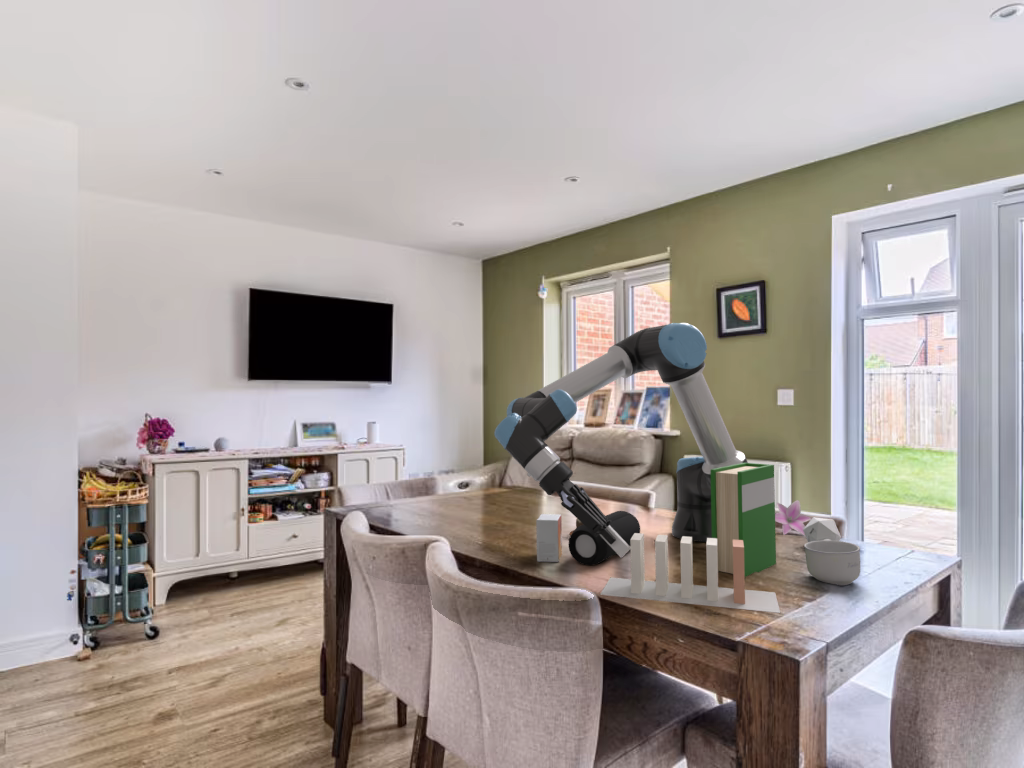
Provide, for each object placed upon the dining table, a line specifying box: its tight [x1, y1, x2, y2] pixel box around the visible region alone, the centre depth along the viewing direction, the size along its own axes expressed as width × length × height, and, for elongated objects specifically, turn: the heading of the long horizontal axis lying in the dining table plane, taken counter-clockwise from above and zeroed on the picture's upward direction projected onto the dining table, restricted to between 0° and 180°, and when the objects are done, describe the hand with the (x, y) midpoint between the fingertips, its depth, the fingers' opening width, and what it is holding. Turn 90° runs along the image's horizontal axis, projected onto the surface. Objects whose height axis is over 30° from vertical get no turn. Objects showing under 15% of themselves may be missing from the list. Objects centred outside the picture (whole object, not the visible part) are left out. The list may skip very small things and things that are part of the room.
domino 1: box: [630, 532, 646, 594], centre depth 126 cm, size 2×6×11 cm, turn 160°
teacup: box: [803, 539, 861, 586], centre depth 132 cm, size 14×11×8 cm
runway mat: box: [599, 577, 781, 614], centre depth 122 cm, size 34×12×1 cm, turn 70°
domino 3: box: [679, 536, 694, 599], centre depth 122 cm, size 2×6×11 cm, turn 160°
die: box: [803, 516, 842, 543], centre depth 158 cm, size 8×9×10 cm
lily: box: [775, 499, 812, 536], centre depth 177 cm, size 11×11×9 cm
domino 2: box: [654, 534, 670, 596], centre depth 124 cm, size 2×6×11 cm, turn 160°
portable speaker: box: [568, 510, 641, 566], centre depth 154 cm, size 26×10×10 cm, turn 145°
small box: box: [535, 513, 563, 563], centre depth 152 cm, size 8×6×10 cm
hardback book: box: [711, 462, 777, 578], centre depth 141 cm, size 18×7×24 cm, turn 134°
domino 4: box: [705, 538, 719, 601], centre depth 121 cm, size 2×6×11 cm, turn 160°
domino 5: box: [732, 540, 746, 604], centre depth 119 cm, size 2×6×11 cm, turn 160°
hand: (626, 552), depth 126 cm, fingers closed
